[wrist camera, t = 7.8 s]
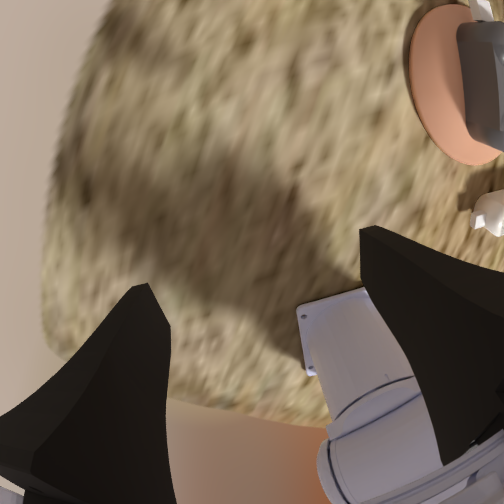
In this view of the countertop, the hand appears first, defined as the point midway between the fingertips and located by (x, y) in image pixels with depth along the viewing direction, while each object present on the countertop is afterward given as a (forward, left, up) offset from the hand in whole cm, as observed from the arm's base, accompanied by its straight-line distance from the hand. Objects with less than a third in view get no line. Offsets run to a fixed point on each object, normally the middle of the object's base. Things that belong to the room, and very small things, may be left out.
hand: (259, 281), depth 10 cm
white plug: (-6, -23, -10) cm, 26 cm away
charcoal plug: (+5, -19, -9) cm, 22 cm away
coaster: (+5, -19, -9) cm, 22 cm away
